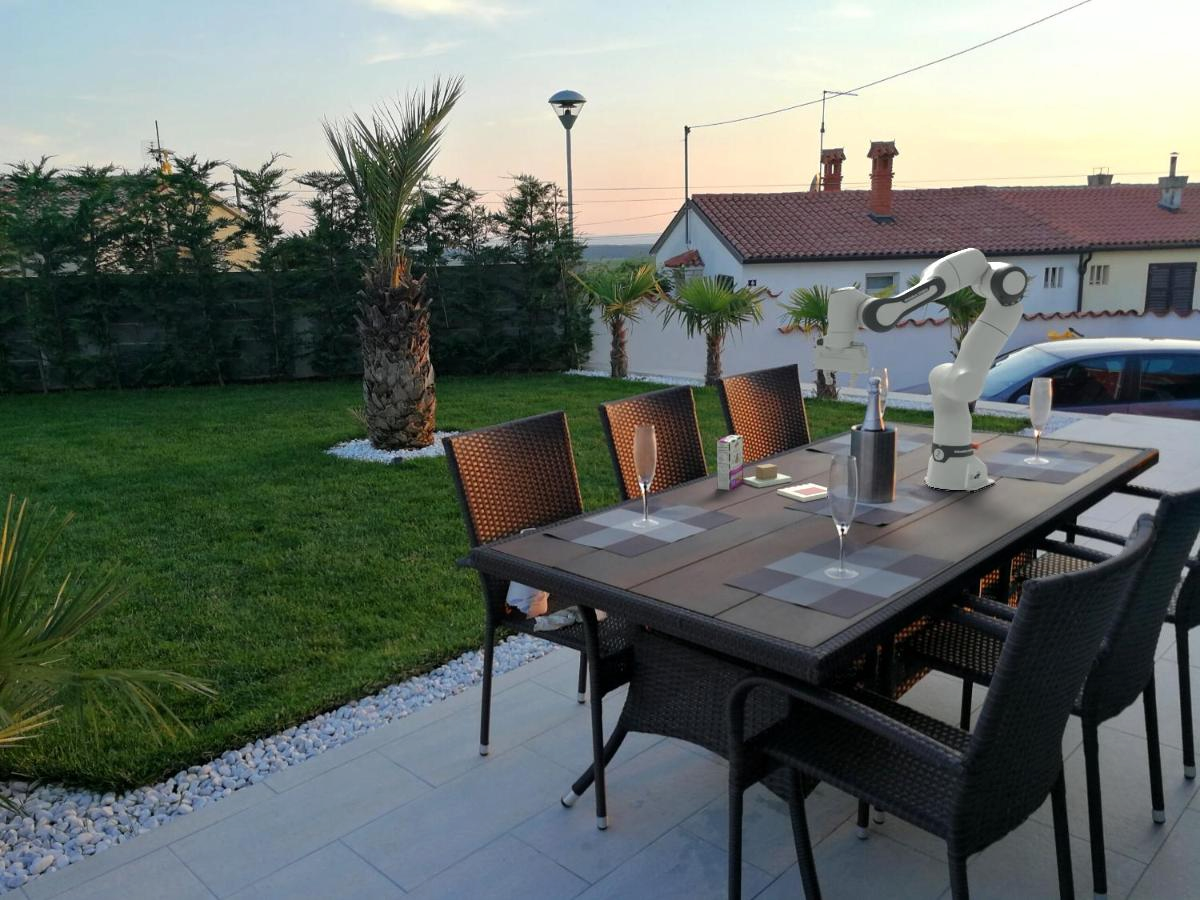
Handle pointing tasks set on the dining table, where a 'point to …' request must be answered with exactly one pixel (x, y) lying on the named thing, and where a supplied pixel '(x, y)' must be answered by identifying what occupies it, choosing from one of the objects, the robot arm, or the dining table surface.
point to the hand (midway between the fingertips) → (840, 385)
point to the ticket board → (804, 492)
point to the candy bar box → (730, 462)
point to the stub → (766, 476)
